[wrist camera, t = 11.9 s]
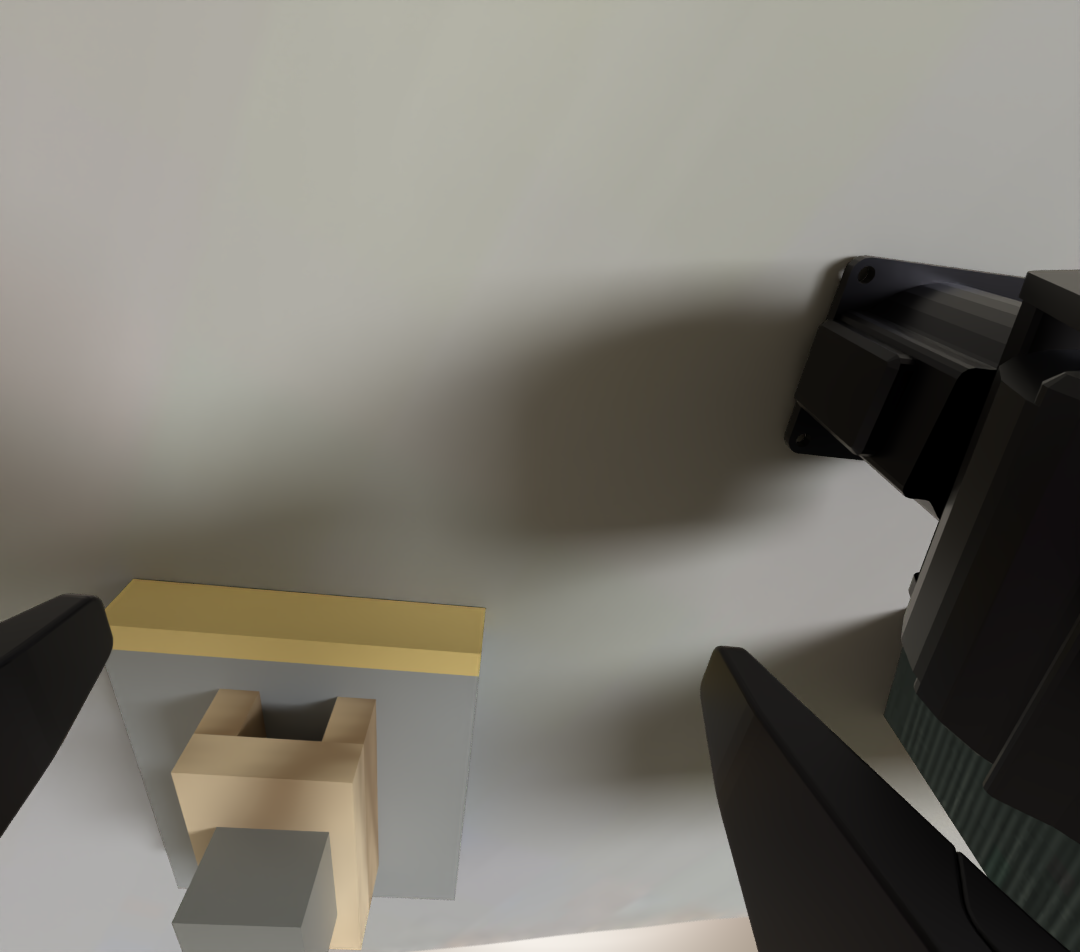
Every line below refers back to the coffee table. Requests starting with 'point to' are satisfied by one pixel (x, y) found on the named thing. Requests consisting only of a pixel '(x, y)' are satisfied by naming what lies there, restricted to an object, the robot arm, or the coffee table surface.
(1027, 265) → the coffee table surface
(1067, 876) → the cassette player
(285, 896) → the gray rectangular block
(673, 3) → the coffee table surface
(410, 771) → the dock
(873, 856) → the robot arm
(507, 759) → the coffee table surface
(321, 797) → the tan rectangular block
